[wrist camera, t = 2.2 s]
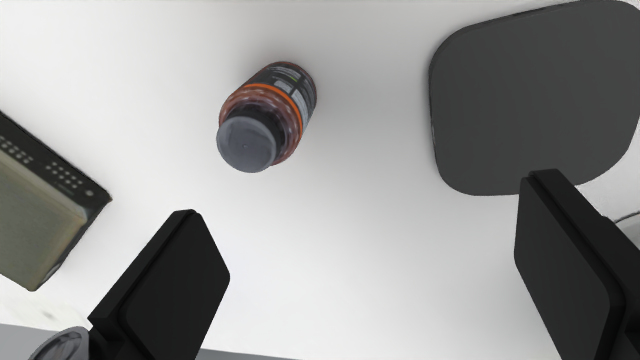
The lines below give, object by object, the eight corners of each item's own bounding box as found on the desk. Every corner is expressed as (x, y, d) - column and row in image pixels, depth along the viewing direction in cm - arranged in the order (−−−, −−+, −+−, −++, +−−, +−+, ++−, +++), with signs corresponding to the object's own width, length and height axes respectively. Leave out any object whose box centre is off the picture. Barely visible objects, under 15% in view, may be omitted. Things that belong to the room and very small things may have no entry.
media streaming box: (607, 167, 30) (627, 184, 28) (436, 187, 34) (440, 204, 32) (641, -16, 24) (672, -15, 21) (422, 33, 27) (427, 39, 25)
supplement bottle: (258, 123, 33) (207, 183, 23) (251, 59, 30) (189, 98, 20) (319, 126, 32) (292, 189, 23) (318, 60, 29) (286, 102, 20)
